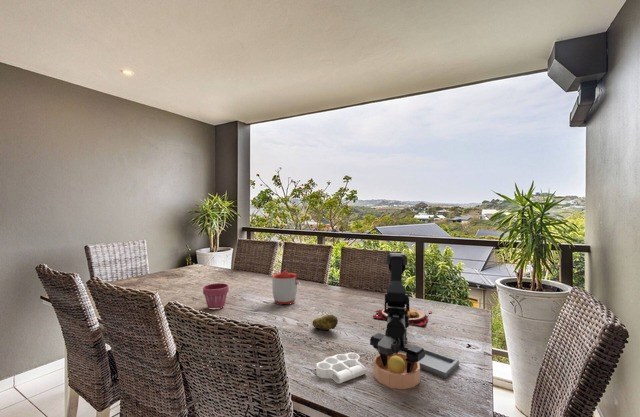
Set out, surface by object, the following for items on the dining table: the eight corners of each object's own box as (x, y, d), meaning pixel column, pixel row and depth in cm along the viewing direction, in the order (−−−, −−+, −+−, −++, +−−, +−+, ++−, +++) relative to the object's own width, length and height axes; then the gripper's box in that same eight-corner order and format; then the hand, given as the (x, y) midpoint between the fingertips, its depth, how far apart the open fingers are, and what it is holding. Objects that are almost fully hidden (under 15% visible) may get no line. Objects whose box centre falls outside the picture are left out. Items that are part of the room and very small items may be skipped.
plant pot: (212, 313, 171) (212, 290, 171) (198, 308, 179) (198, 286, 179) (233, 306, 182) (233, 285, 182) (219, 302, 190) (219, 281, 190)
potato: (324, 324, 154) (324, 308, 154) (340, 332, 144) (340, 315, 144) (310, 328, 149) (310, 311, 149) (326, 337, 139) (326, 319, 139)
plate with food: (424, 329, 149) (424, 322, 149) (372, 318, 162) (372, 312, 162) (432, 314, 171) (432, 308, 171) (385, 306, 184) (385, 300, 184)
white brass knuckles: (331, 389, 100) (309, 369, 112) (373, 373, 109) (348, 356, 122) (331, 379, 100) (309, 360, 112) (373, 364, 109) (348, 348, 122)
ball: (384, 373, 107) (384, 356, 107) (393, 367, 111) (393, 350, 111) (399, 380, 103) (399, 362, 103) (408, 373, 107) (408, 356, 107)
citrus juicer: (299, 306, 182) (299, 273, 182) (269, 306, 182) (269, 273, 182) (301, 298, 197) (301, 267, 197) (274, 298, 198) (274, 267, 198)
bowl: (364, 375, 107) (364, 362, 107) (389, 359, 118) (389, 348, 118) (405, 394, 96) (405, 380, 96) (427, 375, 107) (427, 362, 107)
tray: (403, 362, 116) (403, 356, 116) (418, 351, 125) (418, 346, 125) (445, 378, 105) (445, 372, 105) (458, 365, 114) (458, 360, 114)
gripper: (360, 325, 108) (360, 369, 108) (409, 341, 95) (409, 392, 95) (378, 317, 116) (378, 358, 116) (425, 331, 103) (425, 377, 103)
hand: (396, 370), depth 107 cm, fingers open, 9 cm apart
